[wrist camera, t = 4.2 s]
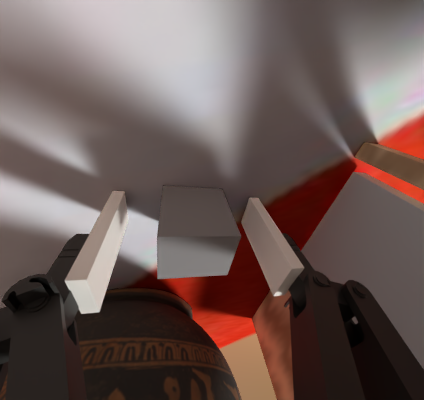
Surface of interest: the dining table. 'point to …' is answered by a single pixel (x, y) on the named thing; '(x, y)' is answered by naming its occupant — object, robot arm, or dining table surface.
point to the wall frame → (274, 305)
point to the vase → (149, 351)
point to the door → (376, 251)
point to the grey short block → (195, 233)
